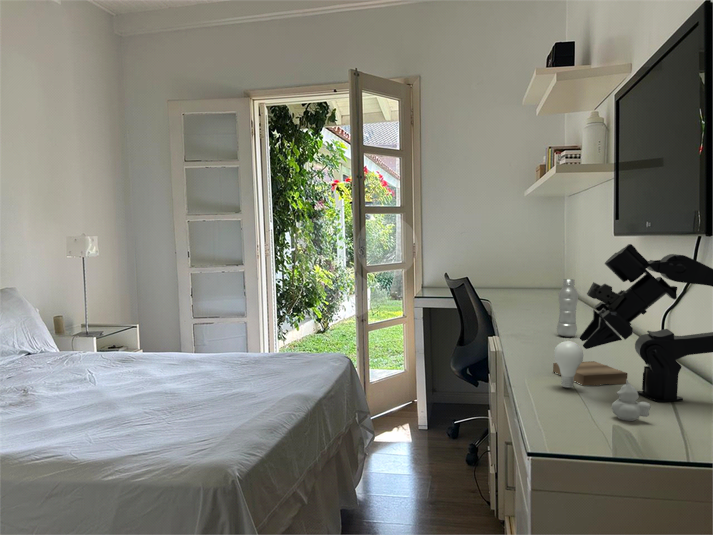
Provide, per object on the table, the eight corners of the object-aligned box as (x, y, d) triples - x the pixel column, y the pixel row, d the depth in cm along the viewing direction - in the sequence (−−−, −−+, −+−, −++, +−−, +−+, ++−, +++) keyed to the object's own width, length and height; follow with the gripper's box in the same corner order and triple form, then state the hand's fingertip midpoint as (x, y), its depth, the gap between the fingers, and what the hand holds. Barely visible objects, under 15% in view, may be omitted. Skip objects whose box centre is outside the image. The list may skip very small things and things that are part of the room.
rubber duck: (611, 413, 106) (613, 373, 105) (648, 418, 103) (651, 378, 102) (610, 421, 101) (612, 380, 100) (650, 427, 98) (652, 385, 98)
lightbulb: (564, 393, 119) (566, 344, 118) (546, 385, 125) (548, 339, 124) (588, 391, 120) (590, 343, 120) (569, 383, 126) (571, 338, 126)
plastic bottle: (552, 335, 187) (554, 279, 186) (566, 334, 190) (568, 278, 189) (566, 338, 182) (569, 280, 180) (581, 337, 184) (583, 280, 183)
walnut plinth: (626, 383, 127) (627, 373, 127) (583, 386, 125) (583, 375, 125) (593, 370, 139) (594, 361, 139) (553, 372, 136) (553, 363, 136)
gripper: (606, 268, 127) (555, 311, 131) (617, 273, 109) (558, 323, 114) (641, 302, 125) (588, 345, 129) (658, 314, 107) (596, 362, 112)
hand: (582, 343), depth 121 cm, fingers open, 9 cm apart
